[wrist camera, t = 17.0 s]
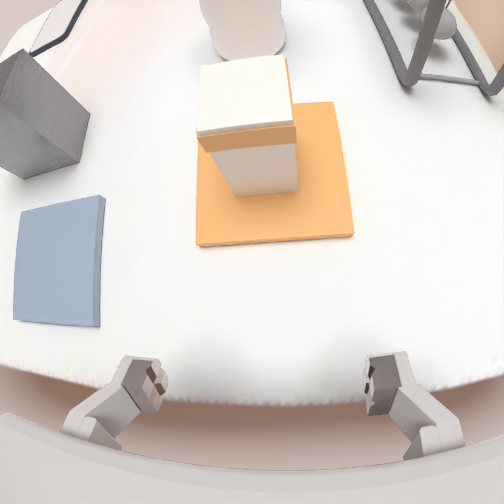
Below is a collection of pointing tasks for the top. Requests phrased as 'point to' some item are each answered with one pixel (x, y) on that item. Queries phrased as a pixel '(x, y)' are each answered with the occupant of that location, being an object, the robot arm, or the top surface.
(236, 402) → the top surface
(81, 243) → the blue pad
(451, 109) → the top surface
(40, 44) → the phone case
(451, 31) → the newton's cradle
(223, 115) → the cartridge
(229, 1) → the water bottle
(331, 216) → the orange pad
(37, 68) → the control box
